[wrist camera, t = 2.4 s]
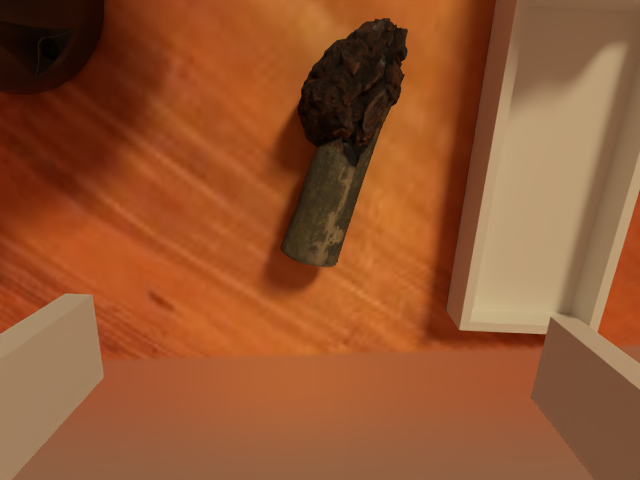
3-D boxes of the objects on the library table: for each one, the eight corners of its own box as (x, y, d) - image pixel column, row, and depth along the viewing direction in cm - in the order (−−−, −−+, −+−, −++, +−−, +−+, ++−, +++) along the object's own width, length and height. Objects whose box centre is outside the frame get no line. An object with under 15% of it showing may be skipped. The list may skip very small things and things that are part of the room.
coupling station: (446, 310, 34) (501, 392, 24) (515, -121, 25) (658, -307, 14) (569, 316, 35) (680, 400, 24) (684, -112, 25) (953, -291, 14)
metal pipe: (334, 256, 32) (339, 280, 27) (260, 233, 32) (250, 252, 26) (411, 46, 28) (435, 24, 23) (327, 13, 27) (331, -18, 22)
